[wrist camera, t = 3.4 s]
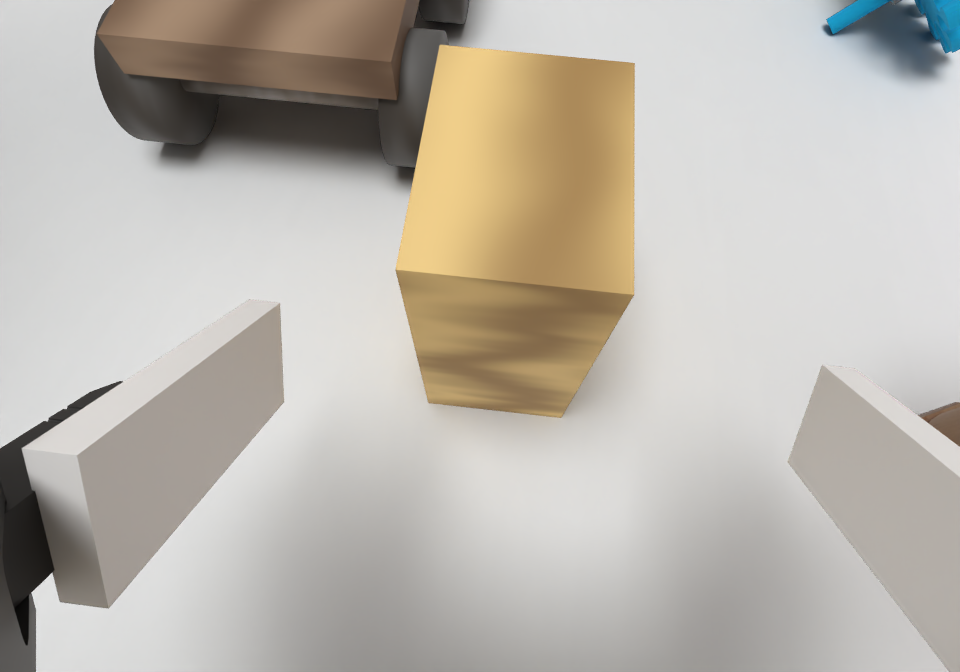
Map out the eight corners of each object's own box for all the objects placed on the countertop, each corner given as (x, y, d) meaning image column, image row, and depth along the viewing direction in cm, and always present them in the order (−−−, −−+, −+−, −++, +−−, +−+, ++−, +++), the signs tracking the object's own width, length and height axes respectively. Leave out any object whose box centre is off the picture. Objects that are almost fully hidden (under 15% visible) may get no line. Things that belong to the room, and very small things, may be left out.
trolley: (152, 166, 30) (54, 42, 23) (242, -43, 37) (188, -188, 30) (435, 195, 29) (424, 78, 22) (473, -22, 36) (474, -164, 29)
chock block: (428, 402, 25) (395, 269, 14) (451, 249, 28) (440, 41, 17) (561, 417, 25) (634, 295, 14) (569, 261, 28) (634, 59, 17)
